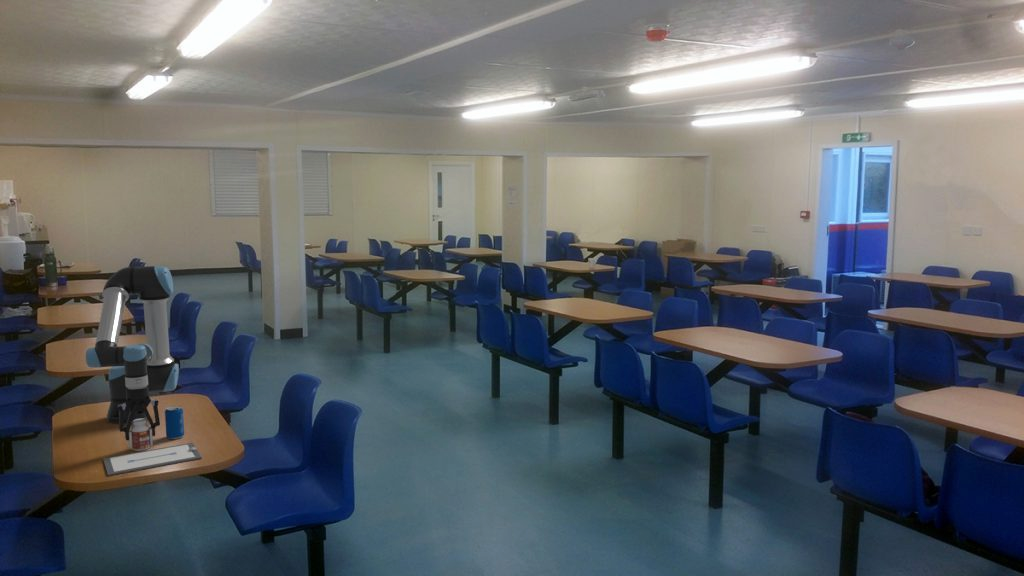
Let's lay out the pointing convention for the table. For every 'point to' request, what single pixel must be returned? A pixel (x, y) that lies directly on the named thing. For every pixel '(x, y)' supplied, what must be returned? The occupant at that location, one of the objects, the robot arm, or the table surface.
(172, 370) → the robot arm
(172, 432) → the beverage can
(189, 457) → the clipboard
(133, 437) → the pill bottle
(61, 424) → the table surface
